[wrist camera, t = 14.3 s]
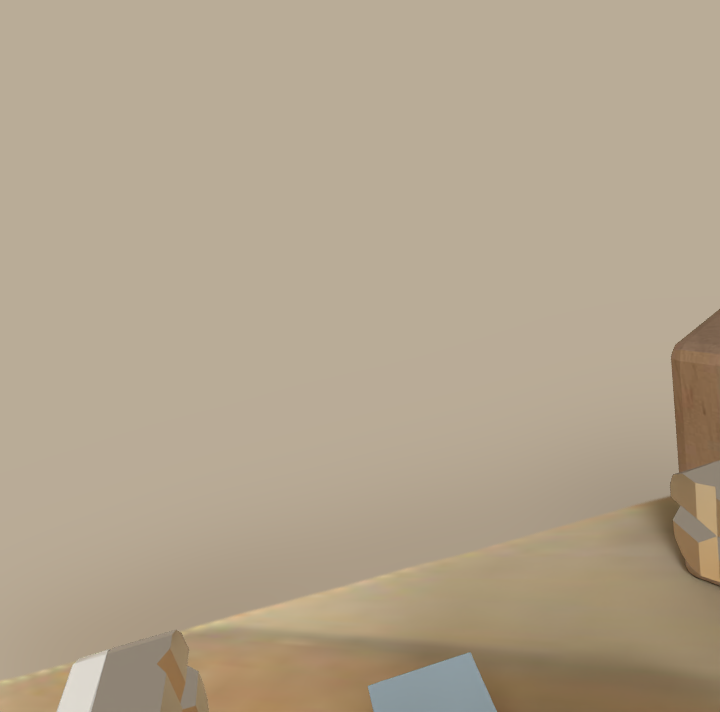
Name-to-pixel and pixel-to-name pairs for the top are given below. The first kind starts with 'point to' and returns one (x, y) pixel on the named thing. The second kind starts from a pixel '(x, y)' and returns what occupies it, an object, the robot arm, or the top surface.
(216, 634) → the top surface
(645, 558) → the top surface
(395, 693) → the post
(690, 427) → the block
